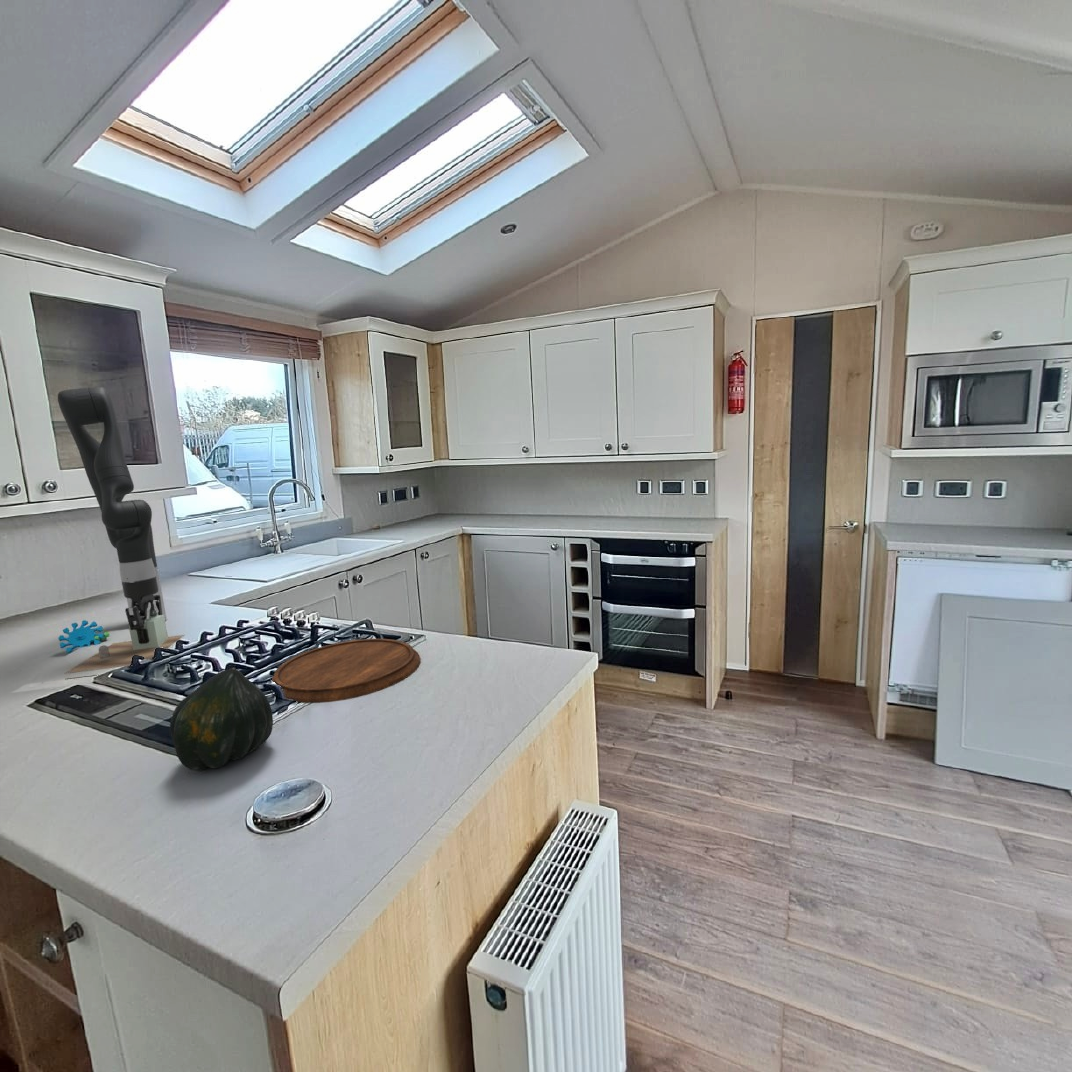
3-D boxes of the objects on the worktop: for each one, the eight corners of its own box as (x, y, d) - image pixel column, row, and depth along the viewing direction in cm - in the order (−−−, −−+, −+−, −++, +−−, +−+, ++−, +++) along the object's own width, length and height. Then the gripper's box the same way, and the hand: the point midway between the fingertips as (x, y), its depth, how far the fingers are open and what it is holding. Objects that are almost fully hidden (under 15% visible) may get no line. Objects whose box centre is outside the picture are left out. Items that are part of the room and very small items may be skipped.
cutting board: (234, 697, 121) (232, 685, 121) (336, 643, 151) (335, 634, 150) (363, 711, 110) (361, 698, 109) (446, 650, 139) (444, 640, 139)
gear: (53, 652, 154) (62, 619, 159) (59, 663, 158) (67, 630, 164) (104, 650, 158) (111, 618, 164) (109, 660, 162) (115, 628, 168)
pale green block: (144, 642, 157) (139, 617, 156) (168, 639, 158) (164, 614, 157) (133, 649, 151) (128, 624, 150) (158, 646, 152) (153, 621, 151)
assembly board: (114, 648, 159) (110, 629, 158) (186, 640, 162) (182, 620, 161) (65, 679, 138) (60, 657, 137) (148, 669, 140) (144, 647, 140)
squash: (131, 750, 89) (184, 676, 87) (193, 709, 103) (239, 645, 102) (207, 806, 89) (261, 733, 87) (258, 757, 104) (305, 694, 102)
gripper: (136, 573, 158) (147, 632, 161) (107, 585, 144) (120, 650, 147) (166, 570, 160) (177, 629, 162) (141, 581, 146) (153, 646, 148)
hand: (150, 638), depth 155 cm, fingers closed on pale green block, 6 cm apart
